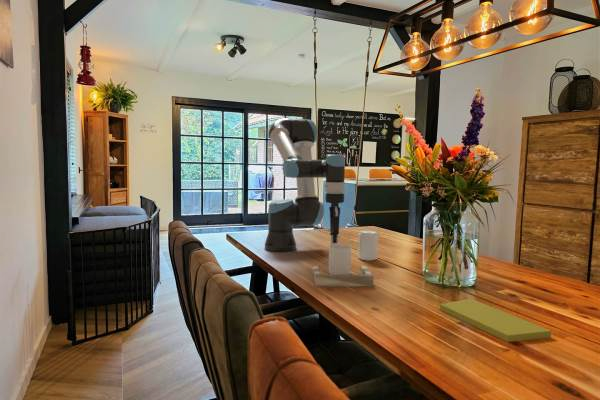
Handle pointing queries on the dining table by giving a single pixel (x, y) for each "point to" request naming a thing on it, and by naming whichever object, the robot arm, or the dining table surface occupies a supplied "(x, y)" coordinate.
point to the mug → (339, 259)
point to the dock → (343, 278)
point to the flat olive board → (494, 321)
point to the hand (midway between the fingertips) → (334, 250)
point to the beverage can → (368, 245)
